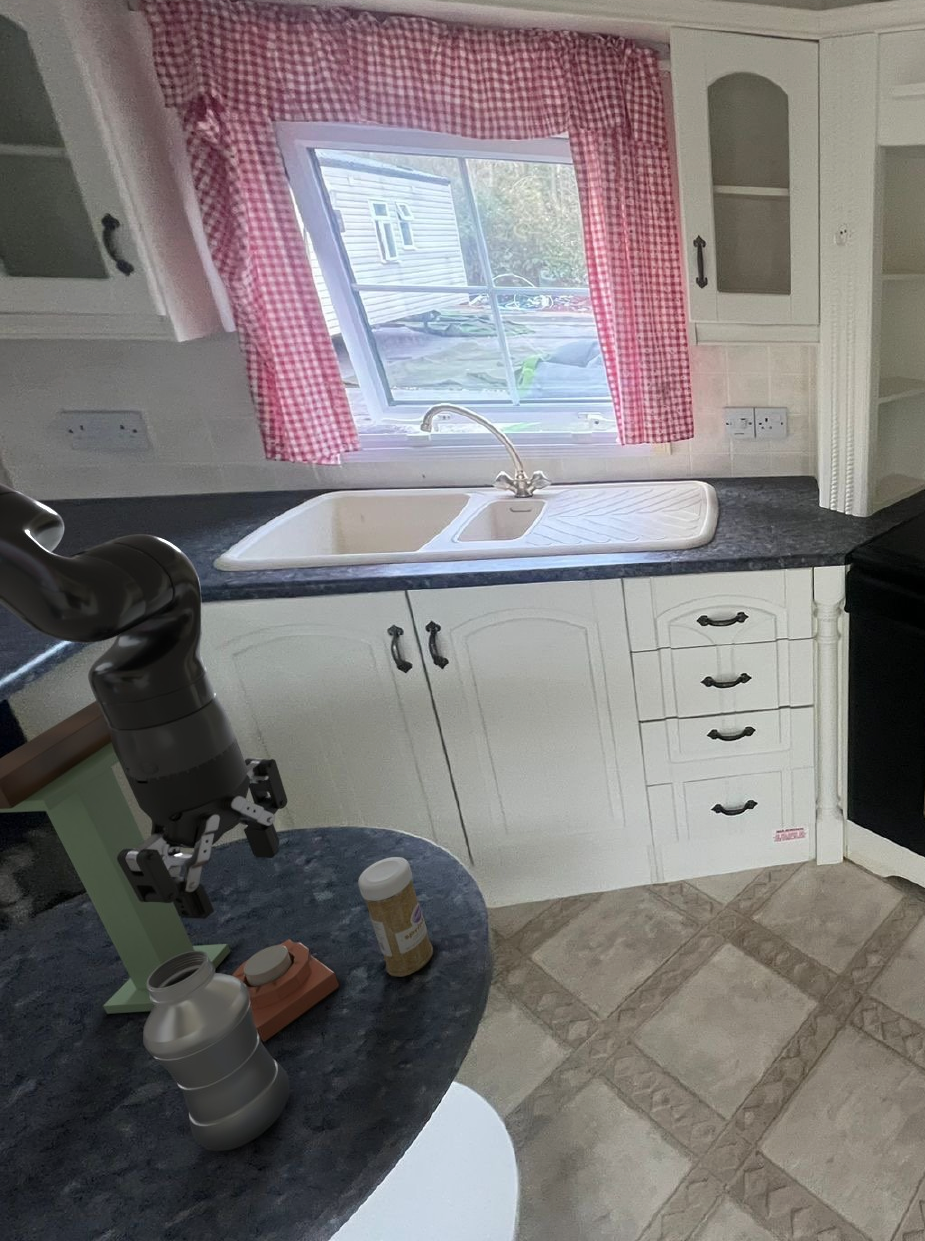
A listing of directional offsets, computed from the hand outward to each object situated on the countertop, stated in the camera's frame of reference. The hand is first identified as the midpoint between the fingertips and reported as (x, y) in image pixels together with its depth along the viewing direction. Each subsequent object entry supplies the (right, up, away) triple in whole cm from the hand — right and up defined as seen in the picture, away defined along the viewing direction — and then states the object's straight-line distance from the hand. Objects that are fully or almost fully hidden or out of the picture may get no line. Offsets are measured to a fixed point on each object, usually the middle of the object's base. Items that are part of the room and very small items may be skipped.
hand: (235, 883), depth 74 cm
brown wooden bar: (-13, +15, 0) cm, 20 cm away
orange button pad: (-1, -15, +6) cm, 16 cm away
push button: (0, -11, +5) cm, 12 cm away
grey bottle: (+7, -20, -6) cm, 22 cm away
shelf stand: (-13, -14, +7) cm, 20 cm away
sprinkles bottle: (+10, -14, +10) cm, 20 cm away
